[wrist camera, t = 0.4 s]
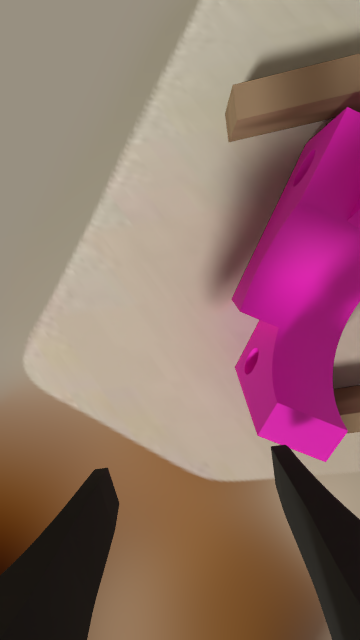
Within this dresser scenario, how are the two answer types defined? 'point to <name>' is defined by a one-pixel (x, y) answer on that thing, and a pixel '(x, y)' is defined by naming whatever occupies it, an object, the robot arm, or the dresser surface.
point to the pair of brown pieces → (295, 110)
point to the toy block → (304, 294)
